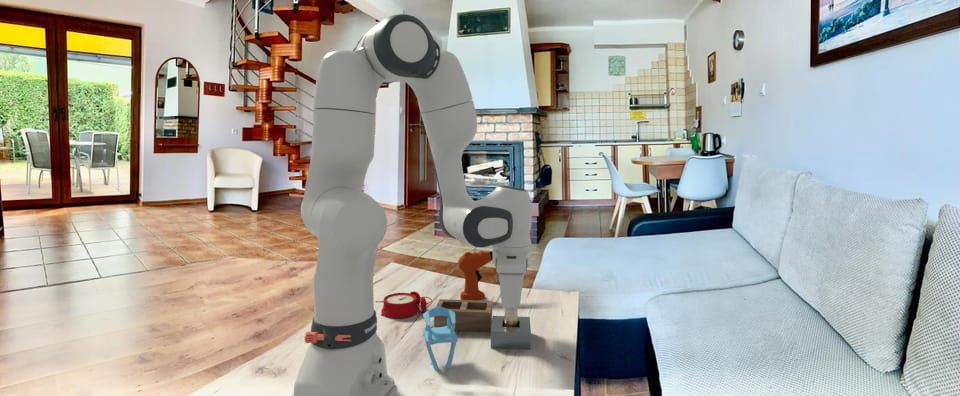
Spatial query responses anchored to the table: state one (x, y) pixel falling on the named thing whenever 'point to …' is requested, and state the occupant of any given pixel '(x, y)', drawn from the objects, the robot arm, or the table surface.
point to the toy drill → (473, 273)
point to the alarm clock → (403, 304)
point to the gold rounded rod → (511, 319)
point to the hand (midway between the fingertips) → (511, 313)
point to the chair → (440, 333)
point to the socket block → (511, 334)
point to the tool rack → (467, 315)
